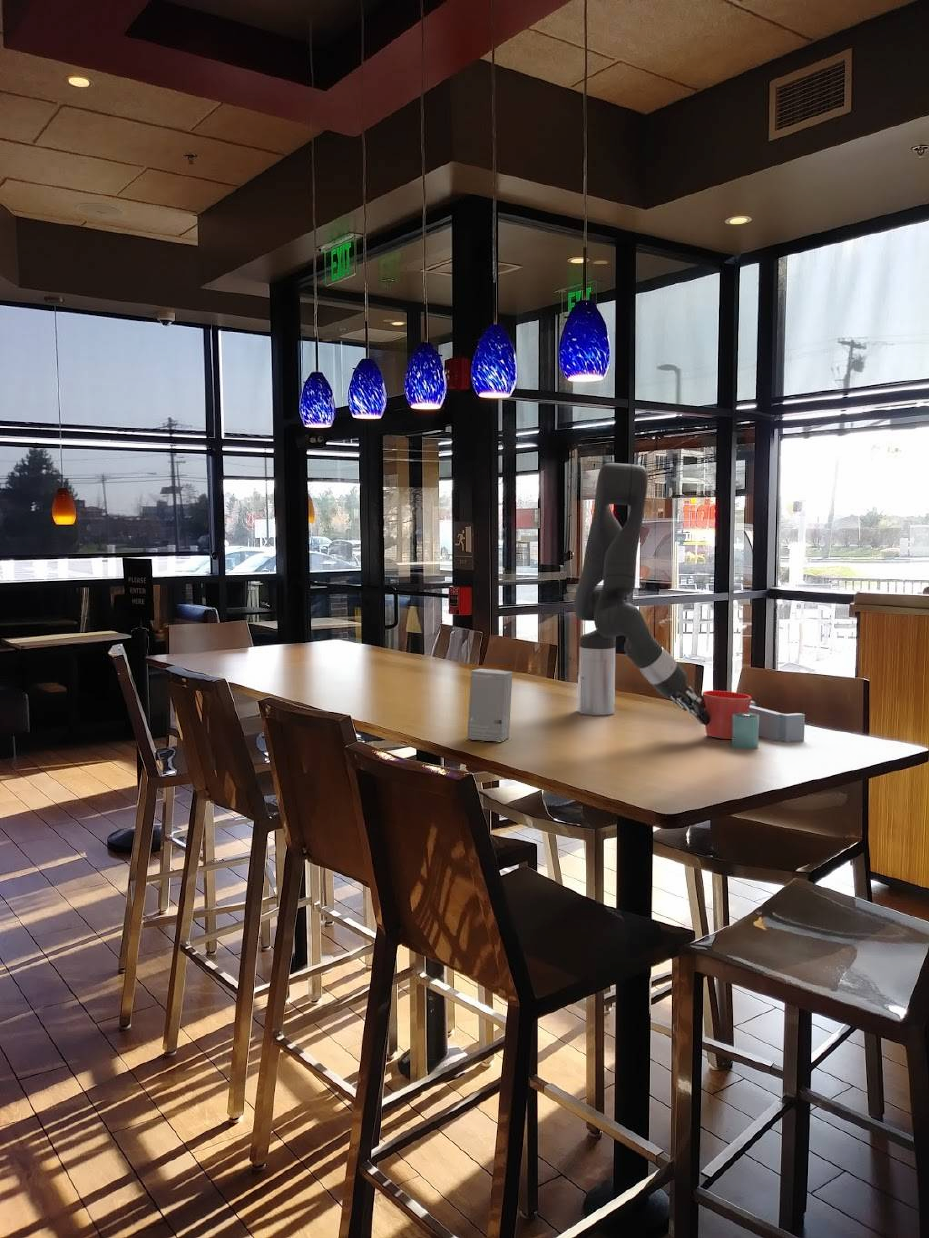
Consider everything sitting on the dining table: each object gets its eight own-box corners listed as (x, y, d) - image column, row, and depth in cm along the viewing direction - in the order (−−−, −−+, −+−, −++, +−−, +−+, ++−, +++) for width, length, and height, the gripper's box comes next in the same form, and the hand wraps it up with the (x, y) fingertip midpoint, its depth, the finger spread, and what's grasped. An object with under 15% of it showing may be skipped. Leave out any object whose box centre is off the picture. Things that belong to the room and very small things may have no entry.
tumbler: (735, 749, 219) (736, 716, 218) (728, 743, 224) (729, 712, 224) (761, 749, 219) (762, 716, 218) (753, 743, 224) (754, 712, 224)
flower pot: (749, 742, 225) (752, 699, 225) (699, 737, 228) (702, 694, 227) (747, 734, 236) (750, 693, 235) (699, 729, 238) (702, 689, 237)
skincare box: (467, 740, 226) (467, 671, 225) (477, 734, 233) (478, 667, 231) (502, 743, 223) (503, 673, 222) (512, 737, 230) (513, 669, 228)
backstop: (782, 742, 226) (783, 716, 225) (729, 726, 244) (729, 701, 244) (804, 740, 228) (804, 714, 227) (749, 724, 247) (750, 700, 246)
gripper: (688, 662, 219) (734, 714, 225) (657, 655, 232) (700, 705, 237) (667, 687, 218) (713, 739, 223) (636, 679, 230) (680, 728, 236)
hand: (706, 721), depth 230 cm, fingers closed
